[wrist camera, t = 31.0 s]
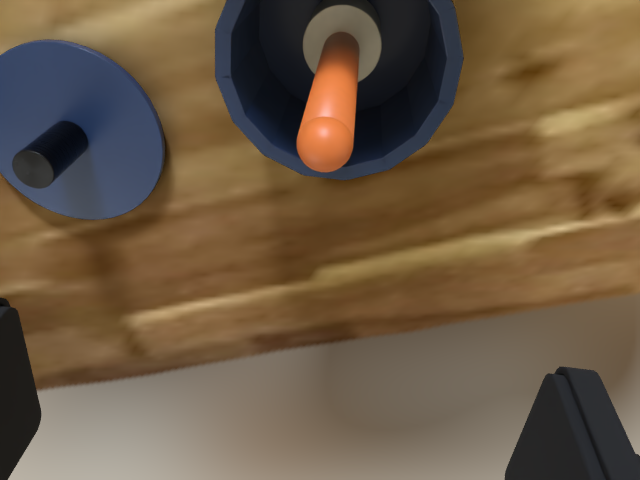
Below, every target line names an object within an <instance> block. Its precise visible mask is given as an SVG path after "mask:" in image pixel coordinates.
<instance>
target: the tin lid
mask: <svg viewBox="0 0 640 480" xmlns="http://www.w3.org/2000/svg"><path fill="white" fill-rule="evenodd" d="M164 160H165V141H164V134H163V130H162V126H161V122H160V120H159V117H158V115H157V112H156V110H155V108H154V106H153V104H152V102H151V100H150V99H149V97H148V96H147V94H146V93H145V92H144V90H143V89H142V87H141V86H140V85H139V84H138V83H137V82H136V81H135V79H134V78H133V77H132V76H131V75H130V74H129V73H127V72H126V71H125V70H124V69H123V68H122V67H121V66H119V65H118V64H117V63H115V62H114V61H113V60H111V59H109V58H108V57H106V56H104V55H103V54H101V53H99V52H97V51H95V50H93V49H90V48H88V47H86V46H82V45H79V44H76V43H73V42H67V41H62V40H37V41H31V42H28V43H24V44H21V45H19V46H16V47H14V48H12V49H10V50H8V51H6V52H5V53H3V54H2V55H0V173H1V174H2V175H3V176H4V177H5V178H6V179H7V181H8V182H9V183H11V184H12V185H13V186H14V187H15V188H16V189H17V190H18V191H19V192H21V193H22V194H23V195H25V196H26V197H27V198H29V199H30V200H32V201H33V202H35V203H37V204H38V205H40V206H42V207H44V208H46V209H48V210H51V211H53V212H56V213H58V214H61V215H65V216H68V217H73V218H78V219H89V220H97V219H107V218H112V217H116V216H119V215H122V214H125V213H127V212H129V211H131V210H133V209H134V208H135V207H137V206H138V205H140V204H141V203H142V202H143V201H144V200H145V199H146V198H147V197H148V196H149V194H150V193H151V192H152V190H153V189H154V188H155V186H156V184H157V182H158V180H159V178H160V176H161V173H162V170H163V166H164Z"/></svg>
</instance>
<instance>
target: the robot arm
mask: <svg viewBox="0 0 640 480" xmlns="http://www.w3.org/2000/svg"><path fill="white" fill-rule="evenodd" d="M40 420H41V408H40V404H39V400H38V395H37V391H36V387H35V383H34V378H33V374H32V370H31V365H30V361H29V357H28V353H27V348H26V344H25V340H24V335H23V331H22V327H21V322H20V318H19V314H18V311H17V310H16V309H15V308H12V307H10V304H9V302H8V301H7V300H6V299H4V298H0V480H8V478H9V476H10V475H11V473H12V471H13V470H14V468H15V467H16V465H17V463H18V462H19V459H20V458H21V457H22V455H23V453H24V452H25V450H26V448H27V447H28V445H29V443H30V442H31V440H32V438H33V437H34V435H35V434H36V432H37V430H38V427H39V424H40ZM505 480H640V456H639V455H638V454H635V452H634V450H633V448H632V446H631V443H630V441H629V439H628V437H627V435H626V432H625V430H624V428H623V426H622V424H621V422H620V419H619V418H618V415H617V413H616V411H615V409H614V406H613V404H612V402H611V400H610V398H609V396H608V393H607V391H606V389H605V387H604V385H603V382H602V380H601V378H600V376H599V375H598V373H597V372H595V371H594V370H586V369H577V368H569V367H559V368H558V369H557V370H556V372H555V374H547V375H546V376H545V378H544V380H543V382H542V385H541V387H540V389H539V392H538V394H537V397H536V399H535V401H534V404H533V406H532V409H531V411H530V413H529V416H528V418H527V421H526V423H525V426H524V428H523V430H522V433H521V435H520V438H519V440H518V442H517V445H516V447H515V449H514V452H513V454H512V457H511V459H510V461H509V464H508V466H507V469H506V473H505Z"/></svg>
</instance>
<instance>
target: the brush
mask: <svg viewBox="0 0 640 480" xmlns="http://www.w3.org/2000/svg"><path fill="white" fill-rule="evenodd" d="M381 48H382V41H381V25H380V20H379V17H378V14H377V12H376V10H375V9H374V7H373V6H372V5H371V4H370V3H369V2H368V1H367V0H323V1H322V2H321V3H320V4H319V5H318V6H317V7H316V8H315V10H314V12H313V14H312V16H311V18H310V21H309V23H308V25H307V28H306V30H305V33H304V36H303V53H304V58H305V60H306V63H307V64H308V66H309V68H310V69H311V71H312V72H313V73H314V74H315V77H314V80H313V84H312V87H311V91H310V94H309V98H308V101H307V105H306V108H305V111H304V115H303V118H302V122H301V125H300V129H299V132H298V136H297V151H298V154H299V156H300V158H301V160H302V161H303V163H304V164H305V165H306V166H308V167H309V168H311V169H312V170H315V171H318V172H332V171H335V170H337V169H339V168H341V167H342V166H343V165H344V164H345V163H346V162H347V161H348V160H349V158H350V156H351V154H352V150H353V143H354V128H355V113H356V98H357V83H358V82H359V81H361V80H363V79H364V78H366V77H367V76H368V75H369V74H370V73H371V72H372V71H373V70H374V68H375V67H376V65H377V63H378V61H379V58H380V55H381Z"/></svg>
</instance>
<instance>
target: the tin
mask: <svg viewBox="0 0 640 480" xmlns="http://www.w3.org/2000/svg"><path fill="white" fill-rule="evenodd" d="M322 1H323V0H227V1H226V4H225V6H224V8H223V11H222V13H221V16H220V18H219V20H218V23H217V25H216V29H215V77H216V81H217V83H218V86H219V88H220V91H221V93H222V96H223V98H224V101H225V103H226V106H227V109H228V111H229V114H230V116H231V119H232V121H233V122H234V123H235V124H236V126H237V127H238V128H239V129H240V130H241V131H242V132H243V133H244V134H245V135H246V137H247V138H248V139H249V140H250V141H251V142H252V143H253V144H254V145H255V146H256V147H257V149H258V150H259V151H260V152H261V153H262V154H264V155H265V156H267V157H269V158H271V159H272V160H274V161H276V162H278V163H280V164H282V165H284V166H286V167H288V168H290V169H292V170H294V171H296V172H298V173H300V174H303V175H305V176H314V177H322V178H331V179H339V180H349V179H353V178H357V177H361V176H366V175H370V174H374V173H378V172H382V171H386V170H389V169H391V168H392V167H394V166H395V165H397V164H398V163H400V162H401V161H403V160H404V159H406V158H407V157H409V156H410V155H411V154H413V153H414V152H416V151H417V150H419V149H420V148H422V147H423V146H425V145H426V144H427V143H428V141H429V140H430V138H431V137H432V135H433V134H434V132H435V131H436V130H437V128H438V127H439V125H440V124H441V122H442V121H443V119H444V118H445V116H446V115H447V113H448V112H449V111H450V109H451V108H452V106H453V104H454V99H455V95H456V90H457V86H458V81H459V77H460V72H461V68H462V64H463V59H464V57H463V50H462V44H461V38H460V33H459V27H458V21H457V16H456V10H455V7H454V4H453V3H452V1H451V0H367V1H368V2H369V3H370V4H371V5H372V6H373V7H374V9H375V10H376V12H377V14H378V17H379V20H380V25H381V41H382V48H381V55H380V58H379V61H378V63H377V65H376V67H375V68H374V70H373V71H372V72H371V73H370V74H369V75H368V76H367V77H366V78H364V79H363V80H361V81H359V82H358V83H357V98H356V113H355V128H354V143H353V150H352V154H351V156H350V158H349V160H348V161H347V162H346V163H345V164H344V165H343V166H342V167H341V168H339V169H337V170H335V171H332V172H318V171H315V170H312V169H311V168H309V167H308V166H306V165H305V164H304V163H303V161H302V160H301V158H300V156H299V154H298V151H297V136H298V132H299V129H300V125H301V122H302V118H303V115H304V111H305V108H306V105H307V101H308V98H309V94H310V91H311V87H312V84H313V80H314V77H315V74H314V73H313V72H312V71H311V69H310V68H309V66H308V64H307V63H306V60H305V58H304V53H303V36H304V33H305V30H306V28H307V25H308V23H309V21H310V18H311V16H312V14H313V12H314V10H315V8H316V7H317V6H318V5H319V4H320V3H321V2H322Z"/></svg>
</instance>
